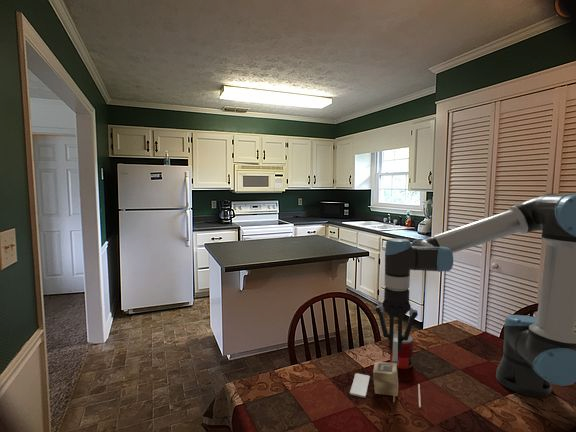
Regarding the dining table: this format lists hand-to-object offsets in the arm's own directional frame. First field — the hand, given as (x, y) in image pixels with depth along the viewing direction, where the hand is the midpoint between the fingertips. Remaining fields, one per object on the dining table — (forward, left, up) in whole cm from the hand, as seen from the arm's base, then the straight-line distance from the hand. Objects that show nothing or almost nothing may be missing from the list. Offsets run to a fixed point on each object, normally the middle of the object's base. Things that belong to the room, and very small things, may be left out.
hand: (395, 359), depth 103 cm
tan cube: (+3, 0, -3) cm, 5 cm away
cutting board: (-2, 0, -11) cm, 12 cm away
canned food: (-2, -19, -12) cm, 22 cm away
